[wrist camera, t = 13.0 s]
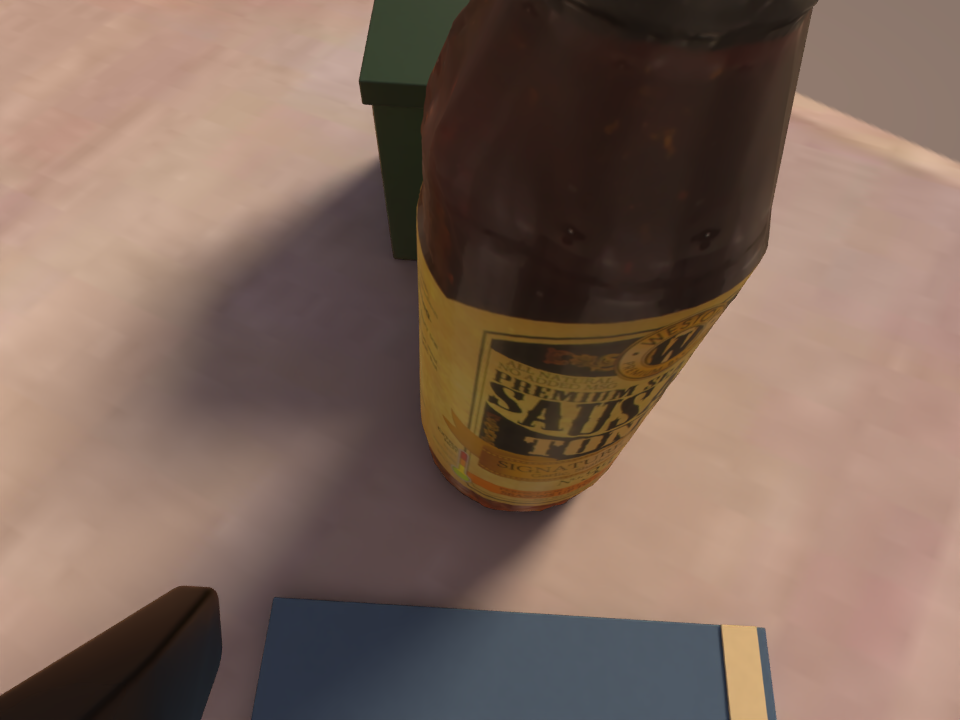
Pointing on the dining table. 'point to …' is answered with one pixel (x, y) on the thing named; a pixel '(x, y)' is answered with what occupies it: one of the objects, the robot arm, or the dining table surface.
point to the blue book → (504, 666)
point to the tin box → (403, 100)
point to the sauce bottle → (587, 221)
